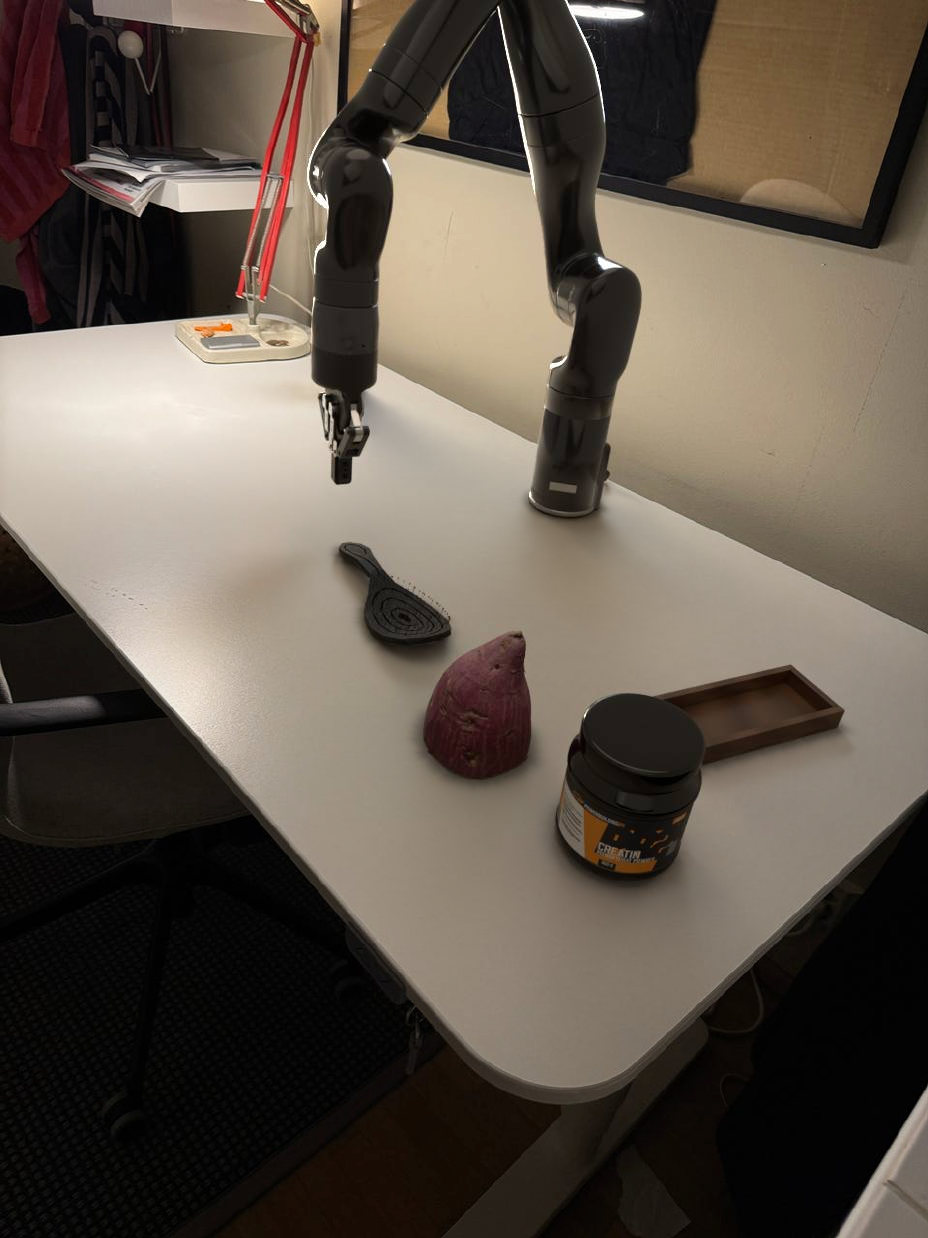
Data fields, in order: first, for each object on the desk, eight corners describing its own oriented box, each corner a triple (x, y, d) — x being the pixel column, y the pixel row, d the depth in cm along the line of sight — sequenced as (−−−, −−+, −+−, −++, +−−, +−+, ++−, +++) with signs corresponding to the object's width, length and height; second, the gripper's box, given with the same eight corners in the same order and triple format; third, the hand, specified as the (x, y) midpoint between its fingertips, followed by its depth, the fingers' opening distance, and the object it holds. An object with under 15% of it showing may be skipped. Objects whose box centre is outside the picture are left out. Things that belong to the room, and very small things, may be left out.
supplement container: (536, 861, 71) (559, 751, 65) (570, 778, 80) (594, 673, 73) (665, 908, 69) (702, 797, 62) (686, 817, 77) (722, 711, 70)
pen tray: (784, 681, 95) (790, 663, 94) (837, 727, 90) (845, 710, 88) (646, 714, 88) (651, 696, 87) (694, 767, 83) (700, 749, 81)
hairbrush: (376, 522, 111) (469, 620, 92) (376, 549, 112) (467, 650, 94) (312, 533, 107) (396, 636, 89) (313, 560, 109) (395, 667, 90)
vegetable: (536, 758, 86) (606, 644, 78) (482, 809, 78) (554, 688, 70) (453, 693, 89) (513, 577, 81) (393, 736, 81) (452, 612, 73)
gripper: (397, 358, 96) (388, 502, 106) (358, 323, 106) (353, 457, 115) (330, 361, 93) (327, 508, 103) (296, 324, 103) (296, 462, 112)
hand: (341, 481), depth 109 cm, fingers closed
